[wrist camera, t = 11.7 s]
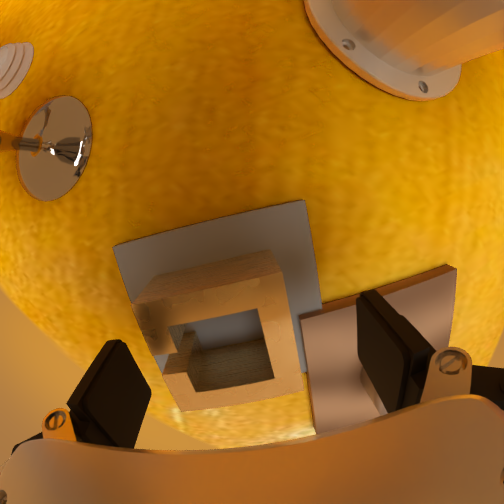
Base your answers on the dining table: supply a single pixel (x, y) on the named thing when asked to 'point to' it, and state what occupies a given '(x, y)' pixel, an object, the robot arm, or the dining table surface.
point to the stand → (345, 345)
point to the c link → (226, 357)
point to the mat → (224, 247)
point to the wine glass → (51, 147)
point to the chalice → (14, 65)
